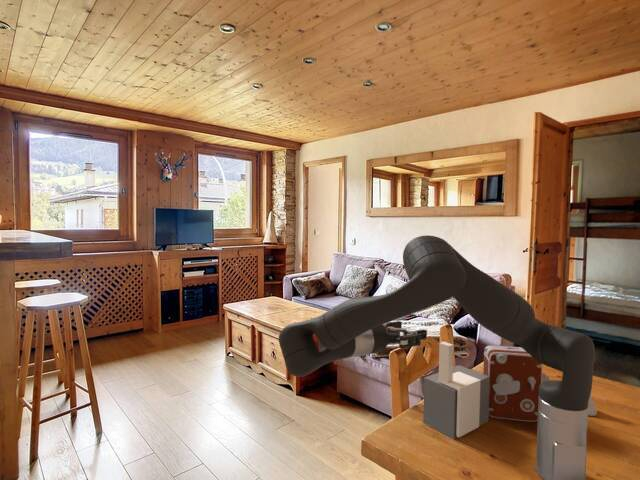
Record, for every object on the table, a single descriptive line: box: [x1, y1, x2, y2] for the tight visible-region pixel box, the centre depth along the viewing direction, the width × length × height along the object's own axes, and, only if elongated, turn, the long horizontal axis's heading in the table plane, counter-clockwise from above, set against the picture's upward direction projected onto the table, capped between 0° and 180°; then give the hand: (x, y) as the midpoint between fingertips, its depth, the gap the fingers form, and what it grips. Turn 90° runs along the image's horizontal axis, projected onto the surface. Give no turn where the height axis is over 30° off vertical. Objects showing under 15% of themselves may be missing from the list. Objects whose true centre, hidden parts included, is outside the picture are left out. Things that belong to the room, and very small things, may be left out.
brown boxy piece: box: [482, 344, 550, 423], centre depth 109 cm, size 9×19×20 cm, turn 78°
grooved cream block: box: [438, 341, 480, 438], centre depth 101 cm, size 9×7×23 cm
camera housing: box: [422, 364, 490, 441], centre depth 106 cm, size 20×10×13 cm, turn 125°
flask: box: [588, 393, 598, 417], centre depth 112 cm, size 7×7×10 cm
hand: (412, 329), depth 93 cm, fingers open, 8 cm apart
